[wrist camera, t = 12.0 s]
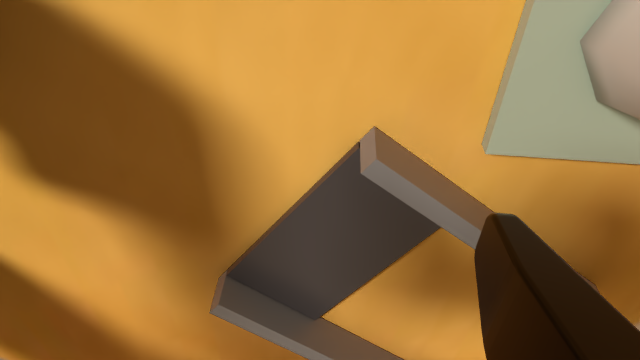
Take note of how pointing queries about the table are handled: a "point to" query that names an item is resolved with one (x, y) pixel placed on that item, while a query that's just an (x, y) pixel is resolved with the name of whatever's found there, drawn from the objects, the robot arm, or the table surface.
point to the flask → (615, 56)
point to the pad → (557, 92)
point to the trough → (342, 247)
